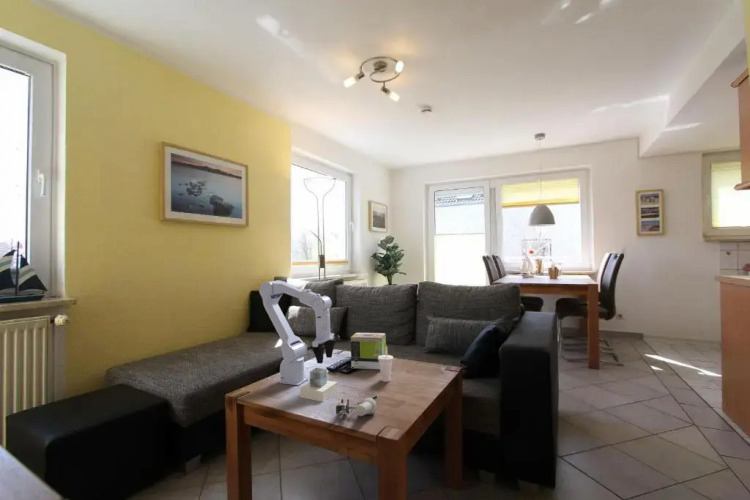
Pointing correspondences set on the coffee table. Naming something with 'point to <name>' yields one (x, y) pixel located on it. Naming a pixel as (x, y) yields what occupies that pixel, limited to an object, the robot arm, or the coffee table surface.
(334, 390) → the base box
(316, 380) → the block
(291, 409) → the coffee table surface
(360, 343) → the tea box
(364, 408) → the clip-on lamp
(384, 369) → the smoothie
